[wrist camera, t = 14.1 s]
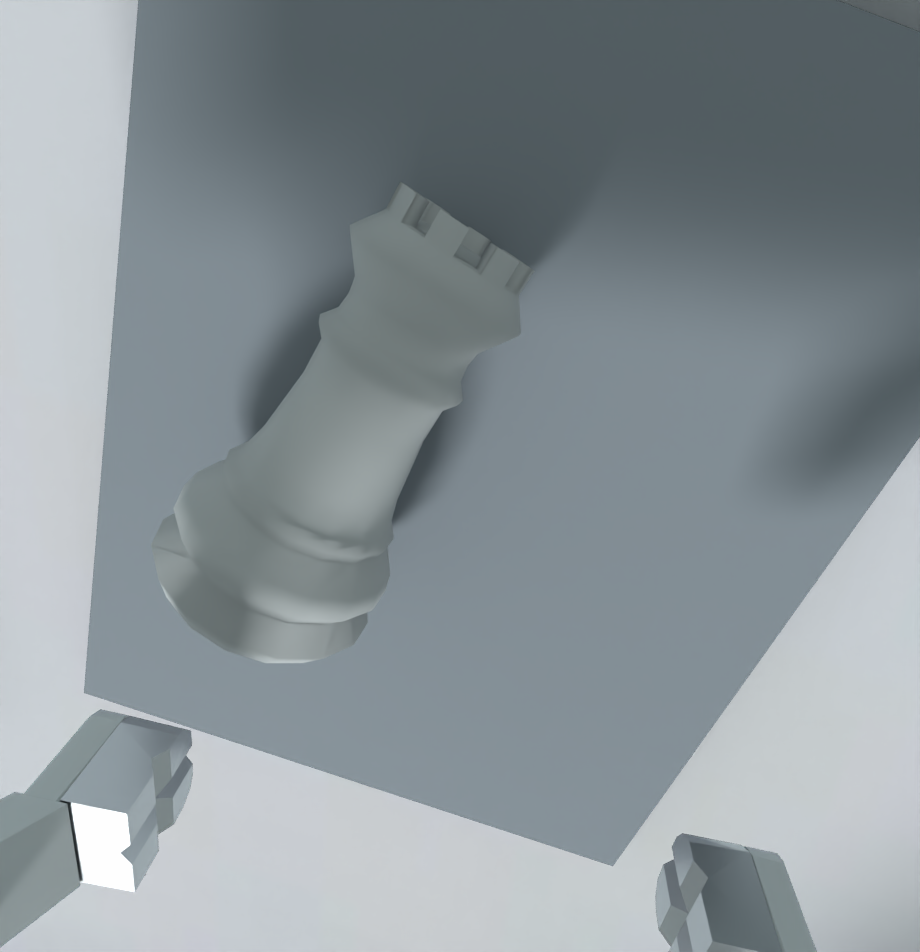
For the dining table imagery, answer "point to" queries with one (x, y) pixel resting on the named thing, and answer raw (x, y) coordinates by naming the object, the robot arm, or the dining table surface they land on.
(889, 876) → the dining table surface
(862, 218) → the mat
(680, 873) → the robot arm
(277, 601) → the rook chess piece
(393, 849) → the dining table surface
